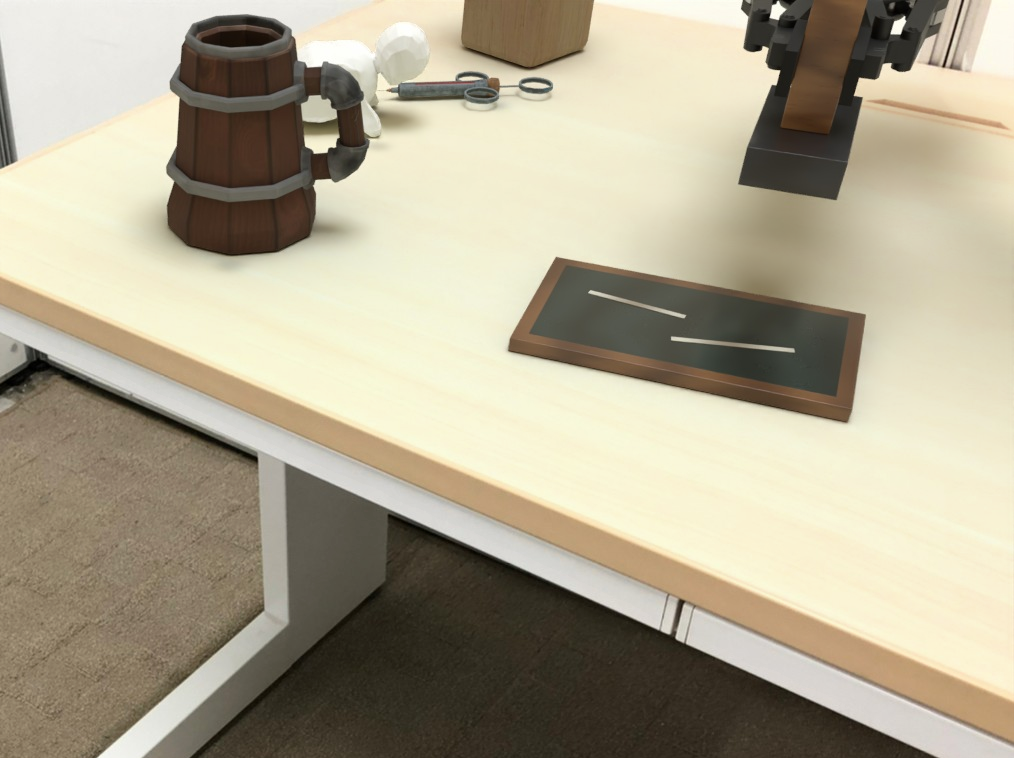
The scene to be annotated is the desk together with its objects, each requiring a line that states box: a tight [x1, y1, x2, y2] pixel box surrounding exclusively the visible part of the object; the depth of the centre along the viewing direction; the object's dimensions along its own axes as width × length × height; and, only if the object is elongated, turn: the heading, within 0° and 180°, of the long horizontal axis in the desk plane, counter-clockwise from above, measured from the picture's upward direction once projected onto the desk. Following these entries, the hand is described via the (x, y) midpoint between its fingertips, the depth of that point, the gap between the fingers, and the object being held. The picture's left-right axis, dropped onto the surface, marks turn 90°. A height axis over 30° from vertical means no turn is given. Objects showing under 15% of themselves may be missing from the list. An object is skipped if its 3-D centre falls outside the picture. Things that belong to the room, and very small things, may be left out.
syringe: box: [377, 70, 554, 105], centre depth 121 cm, size 8×18×2 cm, turn 95°
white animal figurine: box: [297, 21, 431, 138], centre depth 114 cm, size 9×8×15 cm
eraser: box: [737, 0, 868, 201], centre depth 79 cm, size 6×12×11 cm, turn 156°
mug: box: [165, 13, 371, 255], centre depth 95 cm, size 16×12×15 cm
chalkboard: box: [507, 256, 867, 423], centre depth 86 cm, size 22×13×1 cm, turn 66°
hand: (818, 78), depth 74 cm, fingers closed on eraser, 3 cm apart
